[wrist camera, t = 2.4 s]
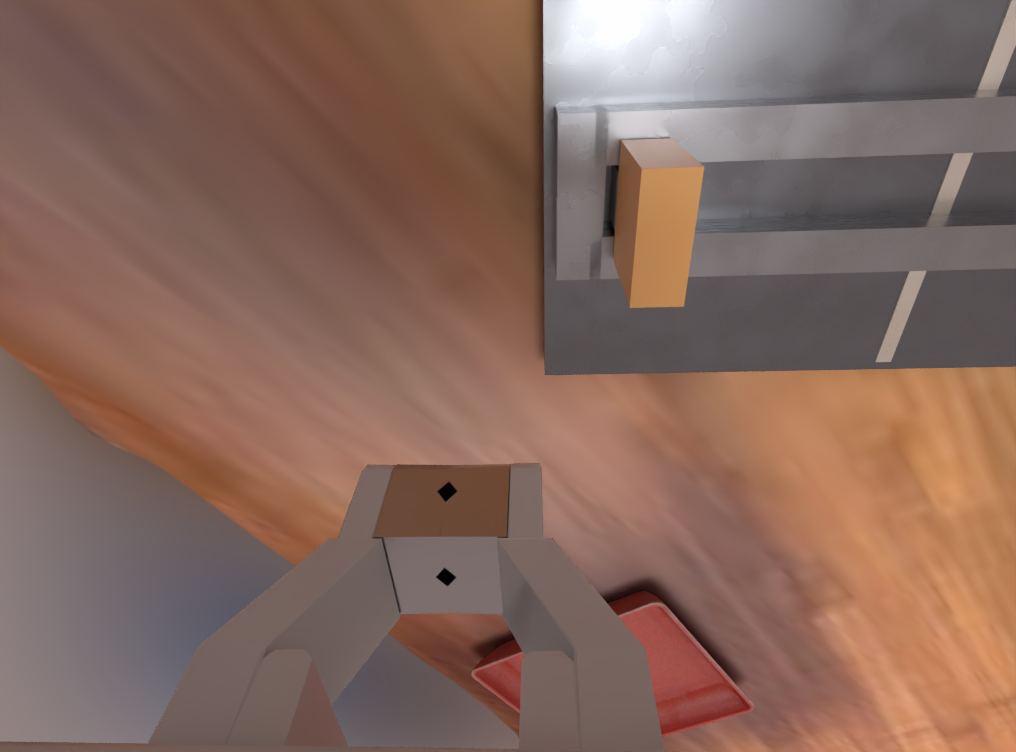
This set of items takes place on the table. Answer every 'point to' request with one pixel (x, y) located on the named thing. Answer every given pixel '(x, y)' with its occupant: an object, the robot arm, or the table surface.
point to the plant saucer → (672, 662)
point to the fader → (654, 220)
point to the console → (788, 182)
